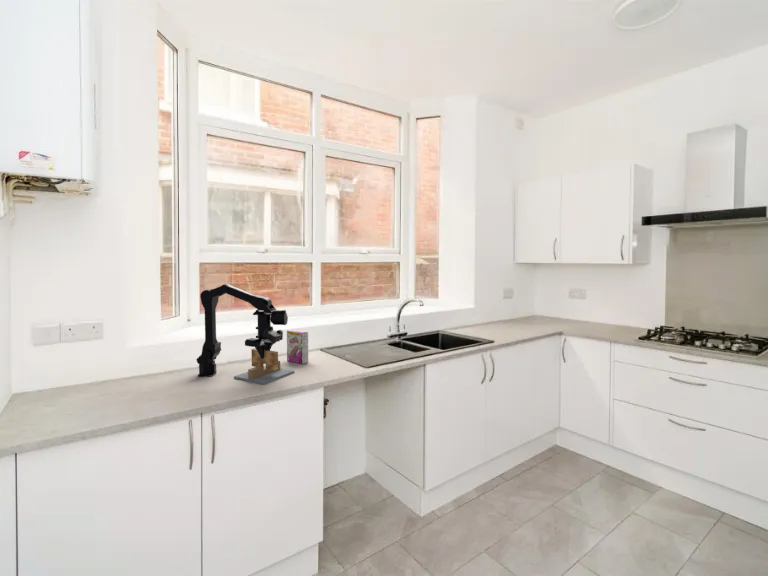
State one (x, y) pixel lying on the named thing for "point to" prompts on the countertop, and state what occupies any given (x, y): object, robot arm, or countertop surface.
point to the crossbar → (265, 359)
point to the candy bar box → (297, 346)
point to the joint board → (265, 377)
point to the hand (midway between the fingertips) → (264, 357)
